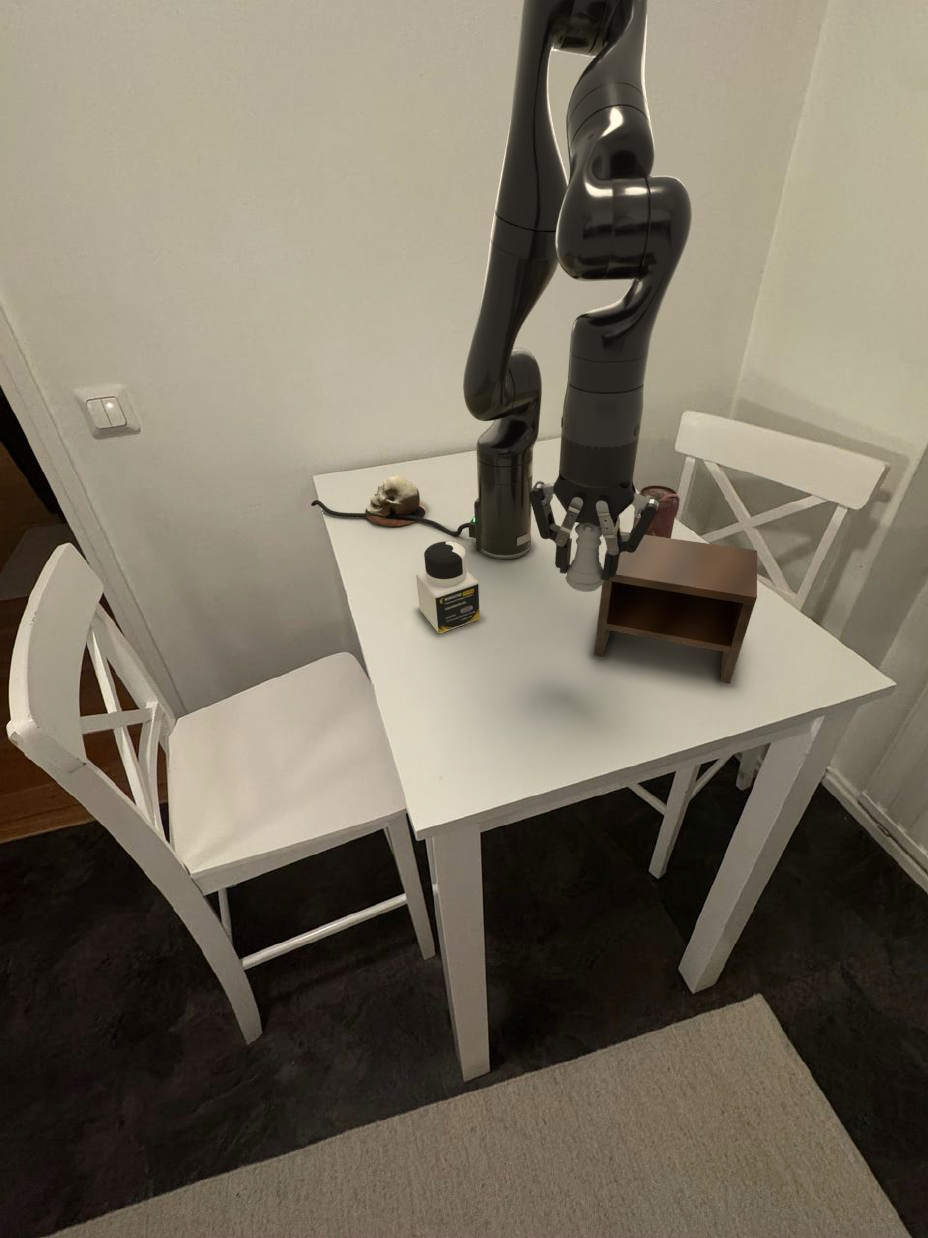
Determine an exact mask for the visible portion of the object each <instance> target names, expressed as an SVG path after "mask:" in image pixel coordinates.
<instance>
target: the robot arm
mask: <svg viewBox="0 0 928 1238" xmlns="http://www.w3.org/2000/svg"><path fill="white" fill-rule="evenodd" d="M648 2H649V1H648V0H523V4H522V11H521V22H520V29H519V41H518V49H517V57H516V65H515V66H516V67H515V77H514V84H513V85H514V86H513V93H512V94H513V95H512V103H511V112H510V118H509V126H508V133H507V139H506V145H505V150H504V156H503V157H504V158H503V161H502V167H501V174H500V178H499V184H498V188H497V195H496V200H495V205H494V206H495V207H494V212H493V219H492V225H491V230H490V240H489V246H488V247H489V248H488V256H487V264H486V270H485V275H484V281H483V287H482V293H481V299H480V303H479V309H478V313H477V318H476V322H475V327H474V331H473V335H472V338H471V342H470V346H469V350H468V354H467V358H466V362H465V367H464V372H463V383H462V390H463V398H464V403H465V406H466V409H467V410H468V412H469V414H470V415H471V416H472V417H473V418H474V419H476V420H477V421H481V422H492V423H491V424H490V425H489V427H488V428H487V429H486V430H485V431H484V432H482V433H481V434H480V436H479V437H478V438H477V441H476V445H475V446H476V448H475V450H476V474H477V475H476V476H477V498H476V500H475V501H474V504H473V509H474V510H473V511H474V512H473V513H474V516H473V517H472V519H470V521H469V522H465V523H462V524H460V525H459V526H458V527H457V529H456V530H455V531H453V530H450V529H449V528H447V527H445V526H444V525H442V524H440V523H439V522H437V521H434V520H432V519H428V518H424V517H422V518H421V517H417V516H412V515H406V514H403V515H393V516H394V517H399V518H404V519H410V520H415V521H416V522H420V523H423V524H427V525H430V526H432V527H434V528H436V529H438V530H440V531H441V532H443V533H445V534H447V535H449V536H453V537H459V536H461V534H462V532H463V530H464V529H468V538H471V539H475V551H477V552H481V553H482V554H483V555H485V556H487V557H488V558H492V559H495V560H513V559H514V560H515V559H518V558H520V557H523V556H525V555H526V554H528V553H529V552H530V550H531V548H532V515H534V518H535V523H536V526H537V529H538V533H539V537H540V538H541V539H543V540H548V539H549V540H551V541H553V543H554V544H555V557H554V565H555V568H556V569H559V574H564V575H567V569H568V567H569V565H570V564H571V556H572V545H573V544H572V543H573V538H571V533H572V532H573V528H575V527H574V526H575V524H576V523H577V524H579V523H591V524H594V525H597V526H601V529H602V534H603V535H602V537H603V538H604V541H605V546H606V551H605V553H604V561H603V576H602V580H603V581H609V578H610V577H613V578H614V576H615V575H616V572H617V569H618V564H619V557H620V553H621V552H625V551H627V552H629V553H633V552H635V551H636V549H637V547H638V545H639V544H640V542H641V540H642V538H643V537H644V535H645V533H646V531H647V529H648V528H649V526H650V524H651V522H652V521H653V519H654V517H655V515H656V513H657V510H658V506H659V503H660V500H659V498H658V497H656V496H651V497H650V498H647V497H644V496H642V495H640V494H639V493H637V490H636V487H635V485H634V474H635V467H636V460H637V453H638V446H639V440H640V433H641V427H642V419H643V413H644V387H645V380H646V373H647V367H648V358H649V351H650V345H651V340H652V335H653V332H654V328H655V325H656V322H657V319H658V316H659V313H660V311H661V308H662V305H663V302H664V299H665V297H666V294H667V292H668V290H669V287H670V284H671V282H672V280H673V278H674V276H675V272H676V271H677V268H678V267H679V264H680V260H681V258H682V256H683V253H684V252H685V248H686V246H687V242H688V240H689V236H690V233H691V227H692V221H693V220H692V219H693V218H692V217H693V211H692V202H691V198H690V194H689V192H688V190H687V188H686V186H685V184H684V183H683V182H682V181H681V179H679V178H678V177H675V176H670V175H651V174H652V171H653V168H654V164H655V141H654V134H653V128H652V121H651V116H650V111H649V106H648V105H649V104H648V100H647V93H646V83H645V65H646V48H647V47H646V46H647V31H648V28H647V27H648ZM552 51H554V52H561V53H566V54H570V55H571V54H573V55H577V56H578V55H579V56H582V57H588V58H593V59H592V60H591V61H590V62H589V63H588V65H587V66H586V67H585V68H584V69H583V71H582V72H581V74H580V75H579V77H578V79H577V81H576V82H575V83H574V84H575V85H574V87H573V89H572V91H571V94H570V97H569V100H568V104H567V110H566V117H565V127H566V129H565V133H566V142H567V143H566V144H567V153H568V163H569V178H568V176H567V172H566V169H565V164H564V162H563V159H562V154H561V151H560V148H559V145H558V141H557V138H556V137H557V136H556V133H555V128H554V124H553V118H552V113H551V112H552V111H551V106H550V105H551V104H550V96H549V69H550V68H549V67H550V59H551V54H552ZM559 265H560V268H562V271H564V273H565V274H566V275H568V276H569V277H570V278H572V279H573V280H575V281H578V282H605V281H606V282H607V281H629V280H632V281H631V283H630V285H629V287H628V289H627V290H626V291H625V293H624V294H623V295H622V297H621V298H620V299H618V300H617V301H614V302H612V303H610V304H607V305H604V306H601V307H598V308H597V307H596V308H594V309H590V310H587V311H584V312H583V313H581V314H579V315H578V316H577V317H576V318H575V320H574V321H573V323H572V326H571V330H570V339H569V357H568V369H567V382H566V391H565V394H564V401H563V406H562V415H561V420H560V428H561V435H560V448H559V449H560V451H559V466H558V476H557V478H556V480H555V481H554V482H549V483H545V482H544V481H542V480H538V481H537V482H536V483H535V484H534V485H533V477H534V476H533V472H534V471H533V470H534V449H535V445H536V444H537V441H538V439H539V431H540V421H541V420H540V419H541V408H542V394H543V381H542V380H543V379H542V374H541V368H540V366H539V363H538V361H537V358H536V357H535V356H534V354H533V353H532V352H530V351H529V350H528V349H526V348H523V347H515V344H516V340H517V339H518V335H519V333H520V331H521V329H522V327H523V325H524V323H525V322H526V320H527V319H528V317H529V316H530V314H531V312H532V311H533V310H534V308H535V306H536V305H537V303H538V302H539V301H540V299H541V297H542V296H543V294H544V292H545V291H546V289H547V288H548V286H549V285H550V283H551V281H552V279H553V277H554V276H555V273H556V271H557V269H558V267H559ZM554 496H555V497H556V499H557V500H558V501H559V503H560V504H561V506H562V508H563V509H564V511H565V513H566V514H565V516H564V517H563V521H562V523H561V525H558V524H556V520H555V516H554V513H553V512H554V511H553V507H552V504H551V502H552V500H553V498H554ZM316 505H317V506H319V508H321V509H322V511H324V512H325V513H326V514H329V515H331V516H335V517H340V518H364V519H368V517H367V516H366V515H368V516H378V515H375V514H372V513H365V512H361V513H360V512H341V511H335V510H332V509H330V508H329V507H328V506H326V505H325V504H324V503H323V502H322V501H321V500H318V499H315V500H313V501H312V503H311V504H310V506H311V507H315V506H316ZM631 505H632V506H633V508H634V511H633V515H634V516H635V517H637V518H638V519H637V521H636V523H635V525H634V526H633V525H632V528H631V530H630V532H629V533H630V534H629V535H625V536H622V535H621V531H622V530H621V519H620V515H621V514H622V513H624V512H625V510H627V509H628V508H629V507H630V506H631ZM532 513H533V514H532Z"/></svg>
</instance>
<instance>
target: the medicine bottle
mask: <svg viewBox="0 0 928 1238" xmlns="http://www.w3.org/2000/svg"><path fill="white" fill-rule="evenodd" d="M423 557H424V568H425V570H421V571H418V572H416V574H415V579H416V587H417V588H416V589H417V595H418V596H417V598H418V605H419V610H420V612H421V613H422V614H423V616H424V617H425V618H426V619H427V621H428V622H429V623H430V624H431V626H432V627H433V628H434V630H435V631H436V632H437V633H438V634H442V633H445V632H447V631H450V630H451V631H452V630H454V629H456V628H459V627H461V626H464V625H468V624H470V623H473V622H475V621H479V620H480V619H481V618H480V617H481V616H480V613H481V612H480V588H479V581H478V580H477V578H475V577H474V576H473V575H472V574H471V573H470V571H468V569H467V568H468V567H467V551H466V549H465V547H464V546H463V545H461V544H460V543H458V542H454V541H438V542H436V543H433V544H431V545H429V546H428V547H427V548H425V551H424V554H423Z"/></svg>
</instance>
